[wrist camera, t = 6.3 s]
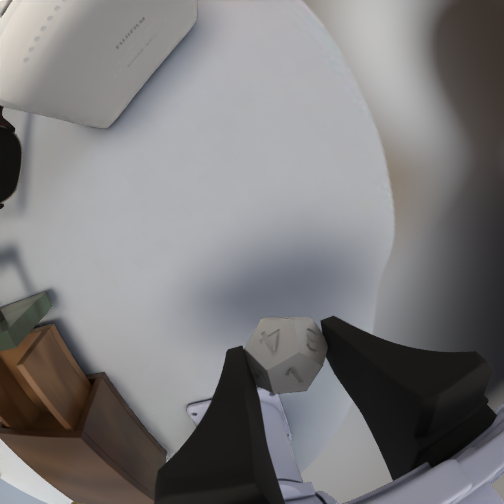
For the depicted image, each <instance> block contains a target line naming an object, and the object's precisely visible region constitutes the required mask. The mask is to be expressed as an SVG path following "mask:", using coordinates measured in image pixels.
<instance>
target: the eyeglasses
mask: <svg viewBox="0 0 504 504" xmlns="http://www.w3.org/2000/svg"><path fill="white" fill-rule="evenodd" d="M2 110H3V106H1V105H0V209H1V208H3V207H4V204H1V203H3V202H4V201H6V200H7V199H9V198H10V197H11V196H12V195H13V194H14V193H15V191H16V189H17V186H18V183H19V178H20V173H21V167H22V145H21V142H20V140H19V138H18V136H17V135H16V134H15V133H14V132H15V128H14V127H13V126H12V125H11V124H10V123H9V122H8V121H7V120H6V119H4V118H3V116H2Z"/></svg>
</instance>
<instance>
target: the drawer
mask: <svg viewBox="0 0 504 504" xmlns="http://www.w3.org/2000/svg"><path fill="white" fill-rule="evenodd" d="M52 306H53V305H52V303H51V301H50V299H49V297H48V294H47V292H43V293H41V294H38V295H35V296H32V297H29V298H27V299H24V300H21V301H18V302H16V303H13V304H10V305H8V306H5V307H2V308H0V421H1V422H2V423H3V424H4V425H5V426H6V427H7V428H9V429H19V430H34V431H76V430H77V427H78V424H79V422H80V419H81V416H82V413H83V411H84V408H85V405H86V403H87V400H88V397H89V395H90V392H91V390H92V387H93V386H92V385H91V383H90V382H89V380H88V379H87V377H86V376H85V374H84V373H83V371H82V370H81V368H80V367H79V365H78V364H77V362H76V361H75V359H74V357H73V356H72V354H71V353H70V351H69V349H68V348H67V346H66V344H65V343H64V341H63V339H62V338H61V336H60V334H59V332H58V330H57V329H56V327H55V325H54V324H50V325H46V326H42V327H39V328H35V329H33V328H34V327H35V325H36V324H37V323H38V322H39V321H40V320H41V319H42V317H43V316H44V315H45V314H46V313H47V312H48V311H49V310H50V309H51V307H52Z"/></svg>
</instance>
